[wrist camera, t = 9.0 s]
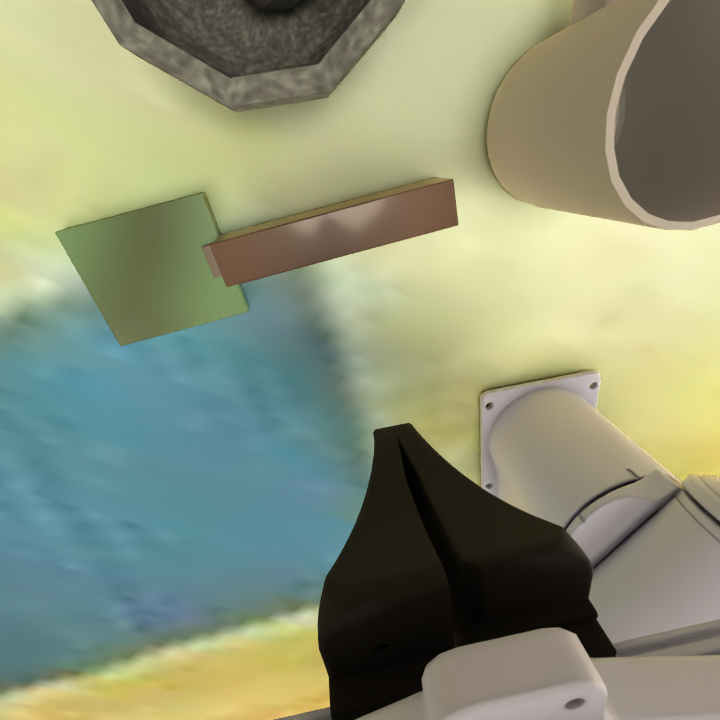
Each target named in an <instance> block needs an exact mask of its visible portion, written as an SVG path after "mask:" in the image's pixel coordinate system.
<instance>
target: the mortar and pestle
mask: <svg viewBox="0 0 720 720" xmlns="http://www.w3.org/2000/svg"><path fill="white" fill-rule="evenodd" d="M92 2H93V3H94V5H95V6H96V8H97V9H98V11H99V13H100V14H101V16H102V17H103V19H104V21H105V22H106V24H107V25H108V27H109V29H110V30H111V32H112V33H113V35H114V37H115V38H116V40H117V41H118V43H119V44H120V45H121V46H122V47H124V48H125V49H127V50H129V51H130V52H132V53H133V54H135V55H136V56H138V57H140V58H141V59H143V60H145V61H147V62H148V63H150V64H152V65H154V66H155V67H157V68H159V69H161V70H162V71H164V72H166V73H168V74H169V75H171V76H173V77H175V78H176V79H178V80H180V81H182V82H184V83H185V84H187V85H189V86H191V87H192V88H194V89H196V90H198V91H199V92H201V93H203V94H205V95H206V96H208V97H210V98H212V99H213V100H215V101H217V102H219V103H220V104H222V105H224V106H226V107H228V108H229V109H231V110H233V111H235V112H240V111H247V110H253V109H259V108H265V107H272V106H278V105H284V104H290V103H297V102H303V101H309V100H315V99H322V98H328V97H329V96H330V94H331V93H332V92H333V91H334V90H335V88H336V87H337V86H338V85H339V84H340V82H341V81H342V80H343V79H344V78H345V76H346V75H347V74H348V73H349V72H350V71H351V69H352V68H353V67H354V66H355V65H356V63H357V62H358V61H359V60H360V59H361V57H362V56H363V55H364V54H365V53H366V51H367V50H368V49H369V48H370V47H371V45H372V44H373V43H374V42H375V41H376V40H377V38H378V37H379V36H380V35H381V34H382V32H383V31H384V30H385V29H386V28H387V26H388V25H389V24H390V23H391V22H392V20H393V19H394V18H395V17H396V15H397V13H398V12H399V10H400V9H401V7H402V5H403V4H404V2H405V0H92Z"/></svg>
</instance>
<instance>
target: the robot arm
mask: <svg viewBox="0 0 720 720" xmlns="http://www.w3.org/2000/svg"><path fill="white" fill-rule="evenodd" d="M600 381H601V375H600V373H598V372H597V371H595V370H590V371H585V372H580V373H575V374H570V375H565V376H560V377H554V378H549V379H544V380H539V381H534V382H529V383H524V384H518V385H513V386H508V387H503V388H498V389H493V390H488V391H485V392H483V393H482V394H481V396H480V449H481V487H480V486H478V485H477V484H475V483H474V482H473V481H471V480H470V479H468V478H467V477H466V476H464V475H463V474H462V473H460V472H459V471H458V470H457V469H456V468H454V467H453V466H452V465H451V464H450V463H448V462H447V461H446V460H445V459H444V458H443V457H442V456H441V455H440V454H439V453H438V452H436V451H435V450H434V449H433V448H432V447H431V446H430V445H429V444H428V443H427V442H426V441H425V439H424V438H423V437H422V436H421V435H420V434H419V433H418V432H417V430H416V429H415V428H414V427H413V425H411V424H410V423H406V424H401V425H396V426H391V427H385V428H380V429H376V430H375V431H374V432H373V435H374V458H373V465H372V471H371V476H370V480H369V484H368V488H367V492H366V495H365V499H364V502H363V505H362V508H361V511H360V513H359V516H358V518H357V521H356V523H355V525H354V528H353V530H352V532H351V534H350V536H349V538H348V540H347V542H346V544H345V546H344V548H343V550H342V552H341V554H340V555H339V557H338V559H337V560H336V562H335V563H334V565H333V567H332V568H331V570H330V571H329V573H328V575H327V576H326V579H325V583H324V587H323V591H322V596H321V601H320V606H319V614H318V642H319V650H320V653H321V656H322V659H323V661H324V664H325V667H326V670H327V673H328V676H329V690H330V707H328V708H324V709H319V710H315V711H310V712H306V713H302V714H297V715H293V716H288V717H284V718H279V719H275V720H720V477H717V476H707V475H702V476H700V475H698V474H690V475H689V476H688V477H687V478H686V479H685V480H684V481H683V482H682V481H680V480H679V479H678V478H677V477H676V476H674V475H673V474H672V473H671V472H670V471H668V470H667V469H666V468H665V467H664V466H662V465H661V464H660V463H659V462H658V461H657V460H655V459H654V458H653V457H652V456H651V455H649V454H648V453H647V452H646V451H645V450H644V449H642V448H641V447H640V446H639V445H638V444H636V443H635V442H634V441H633V440H632V439H630V438H629V437H628V436H627V435H626V434H625V433H623V432H622V431H621V430H620V429H619V428H617V427H616V426H615V425H614V424H613V423H612V422H610V421H609V420H608V419H607V418H606V417H604V416H603V415H602V414H601V413H600V412H598V411H597V410H596V407H597V401H598V394H599V387H600ZM591 383H593V384H592V385H591V386H590V384H591ZM488 403H491V404H490V405H489V406H486V405H487V404H488ZM489 483H490V484H489ZM487 484H488V485H487Z"/></svg>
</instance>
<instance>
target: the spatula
mask: <svg viewBox="0 0 720 720" xmlns="http://www.w3.org/2000/svg"><path fill="white" fill-rule="evenodd" d="M457 225H458V217H457V209H456V200H455V192H454V183H453V179H447V178H437V177H433V178H429V179H426V180H422V181H418V182H414V183H411V184H407V185H403V186H400V187H396V188H392V189H388V190H385V191H381V192H377V193H373V194H370V195H366V196H362V197H359V198H355V199H351V200H347V201H344V202H340V203H336V204H333V205H329V206H325V207H321V208H318V209H314V210H310V211H306V212H303V213H299V214H295V215H292V216H288V217H284V218H280V219H277V220H273V221H269V222H265V223H262V224H258V225H254V226H251V227H247V228H243V229H239V230H236V231H232V232H228V233H225V234H222V235H221V234H220V231H219V228H218V226H217V223H216V221H215V218H214V216H213V213H212V210H211V208H210V205H209V203H208V200H207V197H206V195H205V193H204V192H202V193H199V194H195V195H191V196H187V197H184V198H180V199H176V200H172V201H169V202H165V203H161V204H157V205H154V206H150V207H146V208H143V209H139V210H135V211H131V212H128V213H124V214H120V215H116V216H113V217H109V218H105V219H102V220H98V221H94V222H90V223H87V224H83V225H79V226H75V227H72V228H68V229H64V230H61V231H57V232H55V233H56V235H57V237H58V238H59V240H60V242H61V243H62V245H63V247H64V249H65V250H66V252H67V254H68V256H69V257H70V259H71V261H72V263H73V264H74V266H75V268H76V270H77V271H78V273H79V275H80V276H81V278H82V280H83V282H84V283H85V285H86V287H87V289H88V290H89V292H90V294H91V296H92V297H93V299H94V301H95V303H96V304H97V306H98V308H99V310H100V311H101V313H102V315H103V316H104V318H105V320H106V322H107V323H108V325H109V327H110V329H111V330H112V332H113V334H114V336H115V337H116V339H117V341H118V343H119V344H120V346H123V345H127V344H130V343H134V342H138V341H142V340H145V339H149V338H153V337H156V336H160V335H164V334H168V333H171V332H175V331H179V330H182V329H186V328H190V327H194V326H197V325H201V324H205V323H208V322H212V321H216V320H220V319H223V318H227V317H231V316H234V315H238V314H242V313H246V312H248V311H249V306H248V303H247V301H246V298H245V295H244V293H243V290H242V288H241V285H240V284H241V283H245V282H249V281H252V280H256V279H260V278H264V277H267V276H271V275H275V274H278V273H282V272H286V271H290V270H293V269H297V268H301V267H304V266H308V265H312V264H316V263H319V262H323V261H327V260H331V259H334V258H338V257H342V256H345V255H349V254H353V253H357V252H360V251H364V250H368V249H371V248H375V247H379V246H383V245H386V244H390V243H394V242H397V241H401V240H405V239H409V238H412V237H416V236H420V235H423V234H427V233H431V232H435V231H438V230H442V229H446V228H449V227H453V226H457Z"/></svg>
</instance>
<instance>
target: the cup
mask: <svg viewBox="0 0 720 720" xmlns="http://www.w3.org/2000/svg"><path fill="white" fill-rule="evenodd" d="M486 137H487V150H488V158H489V161H490V164H491V167H492V170H493V173H494V175H495V177H496V178H497V179H498V181H499V182H500V184H501V185H502V187H503V188H504V189H505V190H506V191H507V192H508V193H510V194H511V195H512V196H514V197H515V198H516V199H517V200H520V201H523V202H526V203H529V204H532V205H535V206H538V207H542V208H547V209H553V210H558V211H564V212H570V213H575V214H581V215H586V216H592V217H597V218H603V219H609V220H614V221H620V222H625V223H631V224H636V225H642V226H648V227H653V228H659V229H664V230H694V229H697V228H701V227H705V226H708V225H712V224H716V223H719V222H720V0H573V4H572V8H571V16H570V23H569V26H568V27H566V28H564V29H563V30H561V31H559V32H557V33H556V34H554V35H552V36H551V37H549V38H547V39H545V40H544V41H542V42H540V43H538V44H537V45H535V46H534V47H532V48H531V49H529V50H528V51H527V52H526V53H525V54H524V55H523V56H522V57H521V58H520V59H519V60H518V61H517V62H516V63H515V64H514V65H513V66H512V67H511V69H510V70H509V72H508V73H507V75H506V77H505V78H504V80H503V81H502V83H501V85H500V86H499V88H498V90H497V93H496V96H495V98H494V101H493V104H492V107H491V109H490V113H489V119H488V126H487V133H486Z"/></svg>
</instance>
